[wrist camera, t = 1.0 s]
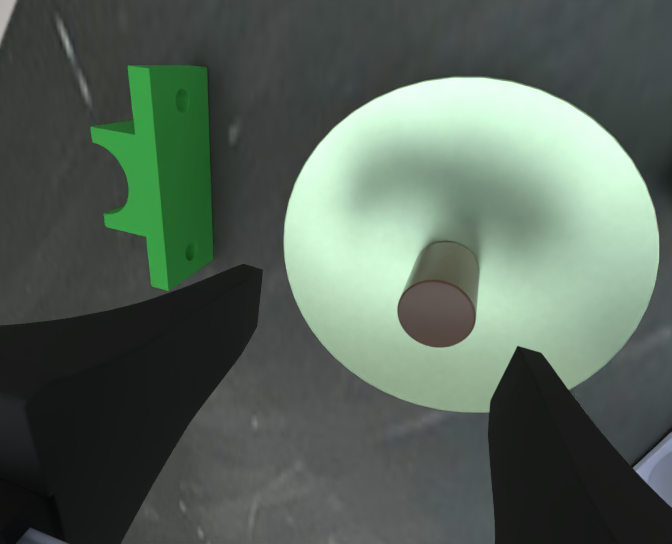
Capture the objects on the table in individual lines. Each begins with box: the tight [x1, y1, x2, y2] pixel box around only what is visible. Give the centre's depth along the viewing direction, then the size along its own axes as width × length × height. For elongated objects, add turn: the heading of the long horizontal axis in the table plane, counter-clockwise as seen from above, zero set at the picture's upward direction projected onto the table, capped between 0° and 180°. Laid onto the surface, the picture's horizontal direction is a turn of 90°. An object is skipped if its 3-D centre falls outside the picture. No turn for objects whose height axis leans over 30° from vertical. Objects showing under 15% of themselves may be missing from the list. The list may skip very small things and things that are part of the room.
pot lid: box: [283, 76, 659, 413], centre depth 16 cm, size 13×13×4 cm
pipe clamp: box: [90, 65, 214, 291], centre depth 24 cm, size 11×4×5 cm, turn 175°
